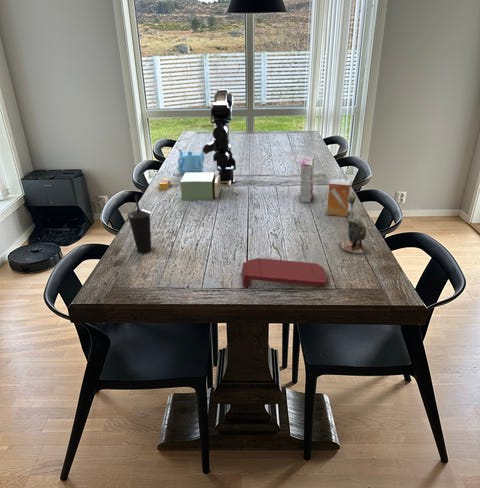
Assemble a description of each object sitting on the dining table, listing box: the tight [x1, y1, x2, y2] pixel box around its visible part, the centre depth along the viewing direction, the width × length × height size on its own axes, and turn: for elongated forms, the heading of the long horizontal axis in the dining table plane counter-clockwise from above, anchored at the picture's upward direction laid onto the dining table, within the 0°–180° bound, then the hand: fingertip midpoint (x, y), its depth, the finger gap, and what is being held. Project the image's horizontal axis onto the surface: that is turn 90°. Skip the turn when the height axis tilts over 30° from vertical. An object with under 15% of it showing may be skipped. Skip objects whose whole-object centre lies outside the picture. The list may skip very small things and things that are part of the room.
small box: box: [326, 178, 353, 217], centre depth 180 cm, size 8×6×13 cm
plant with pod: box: [339, 191, 367, 255], centre depth 149 cm, size 8×11×20 cm
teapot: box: [176, 148, 205, 174], centre depth 238 cm, size 15×15×10 cm
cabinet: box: [179, 171, 216, 201], centre depth 205 cm, size 14×13×8 cm
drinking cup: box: [126, 194, 152, 254], centre depth 153 cm, size 8×8×20 cm
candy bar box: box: [299, 157, 315, 203], centre depth 195 cm, size 11×5×16 cm, turn 168°
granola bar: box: [158, 177, 172, 191], centre depth 217 cm, size 4×8×3 cm, turn 177°
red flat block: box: [240, 257, 328, 288], centre depth 138 cm, size 12×5×25 cm
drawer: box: [212, 174, 232, 198], centre depth 204 cm, size 18×12×7 cm, turn 87°
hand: (223, 171), depth 201 cm, fingers closed
